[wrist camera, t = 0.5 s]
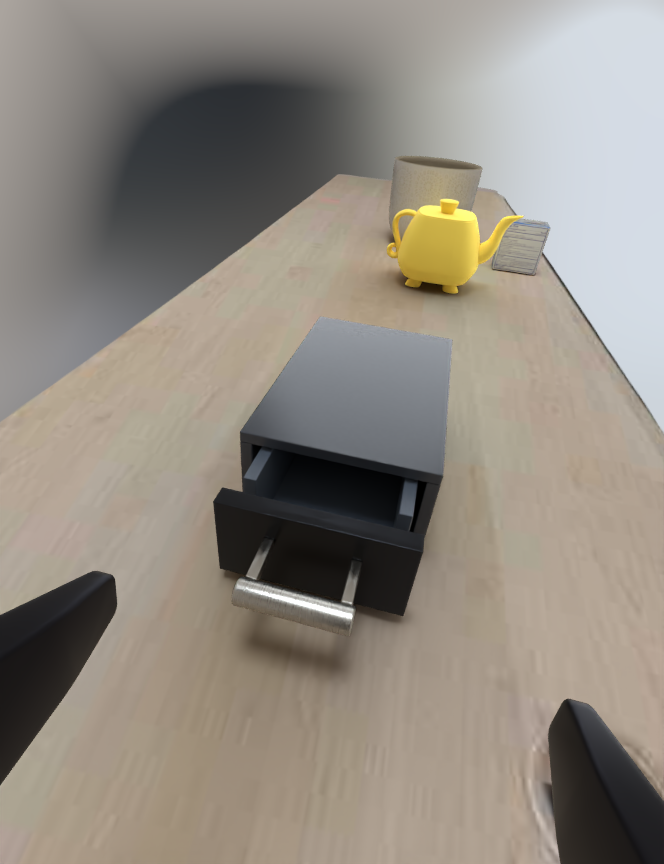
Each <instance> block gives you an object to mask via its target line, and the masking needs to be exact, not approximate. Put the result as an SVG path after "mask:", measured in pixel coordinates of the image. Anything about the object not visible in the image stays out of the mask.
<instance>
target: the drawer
mask: <svg viewBox="0 0 664 864" xmlns="http://www.w3.org/2000/svg"><path fill="white" fill-rule="evenodd" d="M243 480H244V492H240V491H235V490H231V489H227V488H222V489H221V490H220V492H219V493H218V495H217V497H216V498H215V500H214V501H213V504H214V514H215V524H216V534H217V544H218V554H219V564H220V569H224V570H228V571H232V572H236V573H240V574H243V575H246V577H240V578H239V579H238V580H237V582H236V584H235V586H234V589H233V593H232V604H233V605H235V606H238V607H242V608H246V609H249V610H253V611H257V612H260V613H264V614H268V615H271V616H275V617H279V618H282V619H286V620H290V621H293V622H297V623H301V624H304V625H308V626H312V627H315V628H319V629H323V630H326V631H330V632H334V633H337V634H341V635H345V636H350V634H351V630H352V625H353V621H354V616H355V611H356V607H355V606H353V603H354V604H358V605H362V606H366V607H369V608H373V609H377V610H381V611H385V612H389V613H392V614H396V615H400V616H404V612H405V609H406V606H407V603H408V599H409V596H410V593H411V590H412V586H413V583H414V580H415V576H416V573H417V570H418V567H419V563H420V560H421V557H422V554H423V547H424V537H425V536H424V535H423V534H418V533H414V532H410V531H409V530H410V527H411V523H412V519H413V514H414V507H415V499H416V492H417V484H418V480H414V479H410V478H405V477H401V476H396V475H392V474H387V473H382V472H378V471H373V470H369V469H364V468H360V467H355V466H350V465H346V464H341V463H337V462H332V461H328V460H323V459H318V458H314V457H309V456H305V455H300V454H296V453H291V452H286V451H282V450H277V449H273V448H268V447H264V446H262V447H261V449H260V451H259V452H258V454H257V456H256V457H255V459H254V461H253V462H252V464H251V466H250V467H249V469H248V471H247V472H246V474H245V476H244V477H243ZM259 579H262V580H266V581H270V582H274V583H278V584H282V585H285V586H289V587H293V588H297V589H301V590H304V591H308V592H312V593H316V594H320V595H324V596H327V597H331V598H335V599H339V600H341V602H337V601H333V600H330V599H326V598H322V597H318V596H314V595H310V594H307V593H303V592H299V591H295V590H291V589H288V588H284V587H280V586H276V585H272V584H269V583H265V582H261V581H259Z"/></svg>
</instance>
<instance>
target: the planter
mask: <svg viewBox="0 0 664 864" xmlns="http://www.w3.org/2000/svg"><path fill="white" fill-rule="evenodd" d="M481 172H482V167H481V166H478V165H475V164H472V163H467V162H462V161H457V160H450V159H443V158H434V157H422V156H399V157H396V158H395V162H394V169H393V179H392V187H391V195H390V206H389V224H390V228H391V230H392V232H393V228H392V224H393V219H394V217H395V215H396V214H397V213H398V212H400V211H402V210H405V209H412V210H414V211H416V212H417V211H418V210H419V209H420V208H421V207H423V206H428V205H431V206H441V205H440V200H441V199H452V200H456V201H458V202H459V204H458V206H457V208H456V209H462V210H467V211H470V212H471V210H472V207H473V203H474V199H475V195H476V192H477V188H478V184H479V180H480V177H481ZM412 219H413V216H409V215H405V216H402V217H400V219H399V222H398V229H399V235H400V240H401V241H402V238H403V236H404V233H405V231H406V229H407V227H408V225H409V224H410V222H411V220H412Z"/></svg>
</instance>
